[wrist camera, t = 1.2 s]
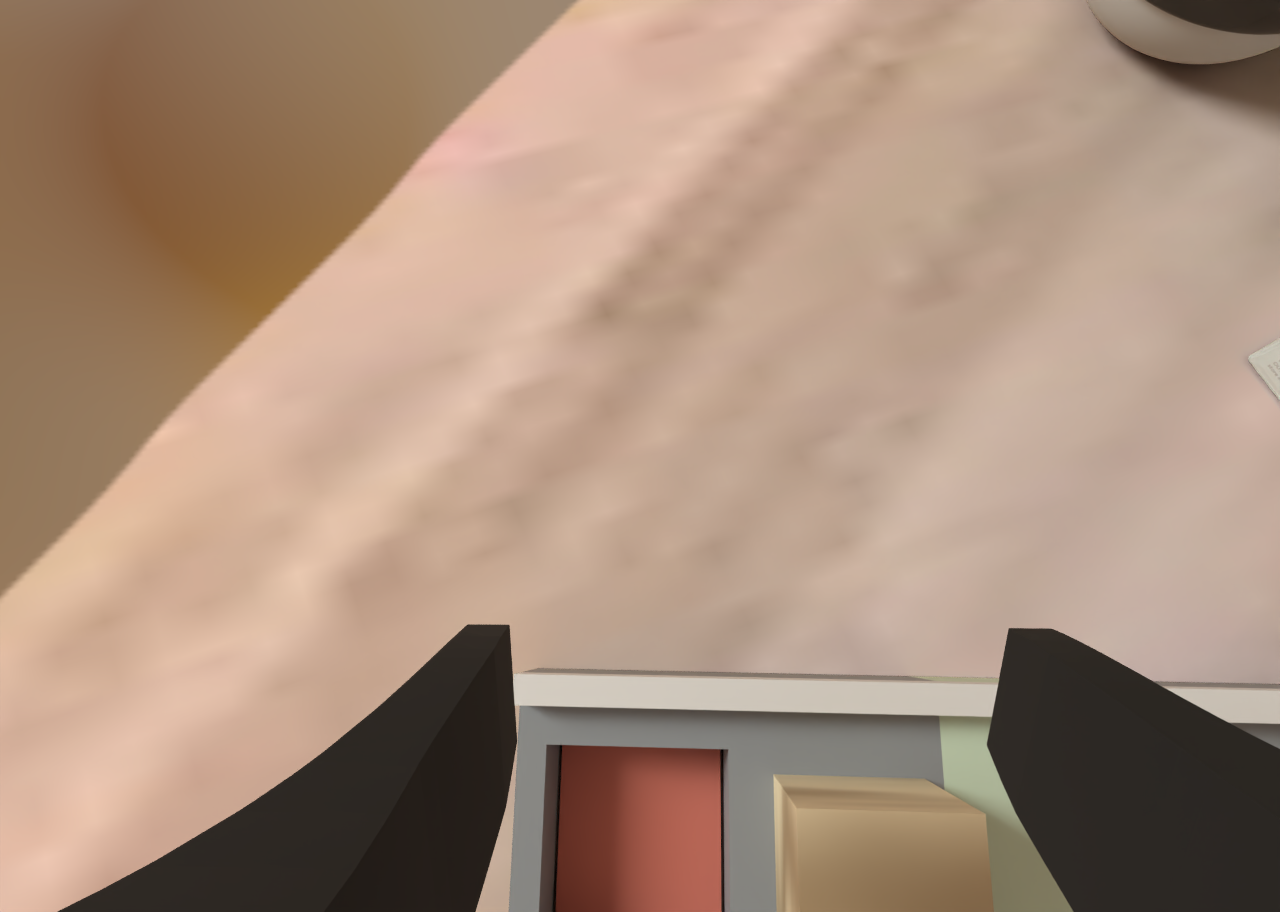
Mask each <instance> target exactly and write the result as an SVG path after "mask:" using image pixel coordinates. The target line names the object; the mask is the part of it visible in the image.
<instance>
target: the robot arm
mask: <svg viewBox="0 0 1280 912" xmlns="http://www.w3.org/2000/svg"><path fill="white" fill-rule="evenodd" d="M516 744H517V733H516V718H515V703H514V687H513V672H512V657H511V642H510V626H509V625H467V626H466V627H464V628H463V629H462V630H461V631H460V632H459V633H458V634H457V635H456V636H455V637H453V638H452V639H451V640H450V641H449V642H448V643H447V644H446V645H445V646H444V647H443V648H442V649H441V650H440V651H439V652H438V653H436V654H435V655H434V656H433V657H432V658H431V659H430V660H429V661H428V662H427V663H426V664H425V665H424V666H423V667H422V668H421V669H420V670H419V671H417V672H416V673H415V674H414V675H413V676H412V677H411V678H410V679H409V680H408V681H407V682H406V683H404V684H403V685H402V686H401V687H400V688H399V689H398V690H397V691H396V692H395V693H393V694H392V695H391V696H390V697H389V698H388V699H387V700H386V701H385V702H383V703H382V704H381V705H380V706H379V707H378V708H377V709H375V710H374V711H373V712H372V713H371V714H369V715H368V716H367V717H366V718H365V719H363V720H362V721H361V722H360V723H358V724H357V725H356V726H355V727H354V728H352V729H351V730H350V731H349V732H347V733H346V734H345V735H344V736H343V737H341V738H340V739H339V740H338V741H336V742H335V743H334V744H333V745H332V746H330V747H329V748H328V749H327V750H325V751H324V752H323V753H321V754H320V755H319V756H317V757H316V758H315V759H314V760H312V761H311V762H309V763H308V764H307V765H305V766H304V767H303V768H301V769H300V770H298V771H297V772H296V773H294V774H293V775H292V776H290V777H289V778H287V779H286V780H284V781H283V782H281V783H280V784H278V785H277V786H276V787H274V788H273V789H271V790H270V791H268V792H267V793H265V794H264V795H262V796H261V797H259V798H258V799H257V800H255V801H254V802H252V803H250V804H249V805H247V806H246V807H244V808H243V809H241V810H240V811H238V812H236V813H235V814H233V815H231V816H230V817H228V818H226V819H225V820H223V821H221V822H220V823H218V824H216V825H215V826H213V827H211V828H210V829H208V830H206V831H205V832H203V833H201V834H200V835H198V836H196V837H195V838H193V839H191V840H190V841H188V842H186V843H185V844H183V845H181V846H180V847H178V848H176V849H174V850H173V851H171V852H169V853H168V854H166V855H164V856H163V857H161V858H159V859H158V860H156V861H154V862H152V863H150V864H149V865H147V866H145V867H143V868H141V869H139V870H137V871H136V872H134V873H132V874H130V875H128V876H126V877H124V878H122V879H121V880H119V881H117V882H115V883H113V884H111V885H109V886H107V887H106V888H104V889H102V890H100V891H98V892H96V893H94V894H92V895H90V896H88V897H86V898H84V899H82V900H80V901H78V902H76V903H74V904H72V905H70V906H68V907H66V908H64V909H62V910H60V911H58V912H475V911H476V908H477V905H478V901H479V898H480V894H481V891H482V888H483V884H484V881H485V878H486V874H487V871H488V867H489V864H490V861H491V857H492V854H493V850H494V847H495V843H496V840H497V836H498V833H499V830H500V826H501V823H502V819H503V816H504V812H505V808H506V803H507V798H508V792H509V786H510V781H511V775H512V769H513V763H514V756H515V750H516ZM987 747H988V750H989V752H990V755H991V757H992V760H993V762H994V765H995V767H996V769H997V772H998V774H999V777H1000V779H1001V782H1002V784H1003V786H1004V788H1005V791H1006V793H1007V795H1008V797H1009V800H1010V802H1011V804H1012V806H1013V808H1014V811H1015V813H1016V815H1017V816H1018V818H1019V820H1020V822H1021V823H1022V825H1023V827H1024V829H1025V830H1026V832H1027V834H1028V836H1029V837H1030V839H1031V841H1032V842H1033V844H1034V846H1035V848H1036V849H1037V851H1038V853H1039V854H1040V856H1041V858H1042V860H1043V861H1044V863H1045V865H1046V866H1047V868H1048V870H1049V871H1050V873H1051V875H1052V877H1053V878H1054V880H1055V882H1056V883H1057V885H1058V887H1059V888H1060V890H1061V892H1062V893H1063V895H1064V897H1065V898H1066V900H1067V902H1068V903H1069V905H1070V907H1071V908H1072V910H1073V912H1280V749H1279V748H1277V747H1275V746H1273V745H1271V744H1269V743H1267V742H1265V741H1263V740H1261V739H1259V738H1257V737H1255V736H1253V735H1251V734H1249V733H1247V732H1245V731H1244V730H1242V729H1240V728H1238V727H1236V726H1234V725H1232V724H1230V723H1228V722H1226V721H1225V720H1223V719H1221V718H1219V717H1217V716H1215V715H1213V714H1212V713H1210V712H1208V711H1206V710H1204V709H1202V708H1200V707H1199V706H1197V705H1195V704H1193V703H1191V702H1189V701H1188V700H1186V699H1184V698H1182V697H1180V696H1178V695H1177V694H1175V693H1173V692H1171V691H1169V690H1168V689H1166V688H1164V687H1162V686H1160V685H1159V684H1157V683H1155V682H1153V681H1151V680H1149V679H1148V678H1146V677H1144V676H1142V675H1140V674H1139V673H1137V672H1135V671H1133V670H1131V669H1130V668H1128V667H1126V666H1124V665H1122V664H1121V663H1119V662H1117V661H1115V660H1113V659H1111V658H1110V657H1108V656H1106V655H1104V654H1102V653H1100V652H1098V651H1097V650H1095V649H1093V648H1091V647H1089V646H1087V645H1085V644H1083V643H1081V642H1079V641H1077V640H1075V639H1073V638H1071V637H1069V636H1067V635H1065V634H1063V633H1060V632H1058V631H1056V630H1054V629H1024V628H1009V630H1008V635H1007V641H1006V646H1005V651H1004V656H1003V662H1002V667H1001V672H1000V677H999V682H998V688H997V693H996V698H995V703H994V709H993V714H992V719H991V724H990V729H989V735H988V740H987Z"/></svg>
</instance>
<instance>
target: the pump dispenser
mask: <svg viewBox="0 0 1280 912" xmlns="http://www.w3.org/2000/svg"><path fill="white" fill-rule="evenodd" d="M1086 1H1087V3H1088V5H1089V7H1090V9H1091V10H1092V12H1093V13H1094V15H1095V16H1096V18H1097V19H1098V20H1099V21H1100V23H1101V24H1102V25H1103V26H1104V27H1105V28H1106V29H1107V30H1108V31H1109V32H1110V33H1111V34H1112V35H1114V36H1115V37H1116V38H1117V39H1119V40H1120V41H1121V42H1123V43H1124V44H1126V45H1128V46H1129V47H1131V48H1133V49H1135V50H1137V51H1139V52H1141V53H1144V54H1146V55H1149V56H1151V57H1155V58H1158V59H1162V60H1166V61H1170V62H1176V63H1184V64H1215V63H1224V62H1230V61H1236V60H1241V59H1245V58H1248V57H1252V56H1256V55H1259V54H1262V53H1265V52H1267V51H1270V50H1273V49H1275V48H1278V47H1280V0H1086Z"/></svg>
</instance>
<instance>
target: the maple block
mask: <svg viewBox="0 0 1280 912" xmlns="http://www.w3.org/2000/svg"><path fill="white" fill-rule="evenodd" d="M773 777H774V820H775V864H776V907H777V912H994V907H993V896H992V884H991V872H990V861H989V849H988V837H987V825H986V814H984V813H983V812H981V811H979V810H978V809H976V808H974V807H972V806H971V805H969V804H967V803H966V802H964V801H962V800H960V799H959V798H957V797H955V796H954V795H952V794H950V793H948V792H947V791H945V790H943V789H942V788H940V787H938V786H936V785H935V784H933V783H931V782H929V781H928V780H926V779H919V778H884V777H849V776H814V775H779V774H773Z"/></svg>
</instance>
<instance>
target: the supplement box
mask: <svg viewBox="0 0 1280 912" xmlns="http://www.w3.org/2000/svg"><path fill="white" fill-rule="evenodd" d="M1248 360H1249V362H1250V363H1251V365H1252V366H1253V367H1254V369H1255V370H1256V371H1257V373H1258V374H1259V375H1260V376H1261V378H1262V379H1263V380H1264V381H1265V382H1266V384H1267V385H1268V386H1269V388H1270V389H1271V390H1272V392H1273V393H1274V394H1275V395H1276V396H1277V398H1278V399H1279V400H1280V338H1279V339H1277V340H1275V341H1274V342H1272V343H1270V344H1269V345H1267V346H1265V347H1264V348H1262V349H1260V350H1259V351H1257V352H1255V353H1253V354H1251V355H1250V356H1249V359H1248Z"/></svg>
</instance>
